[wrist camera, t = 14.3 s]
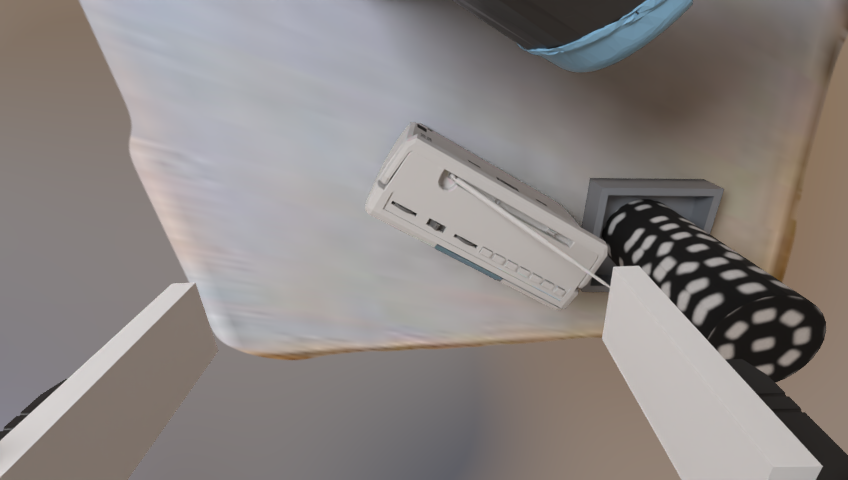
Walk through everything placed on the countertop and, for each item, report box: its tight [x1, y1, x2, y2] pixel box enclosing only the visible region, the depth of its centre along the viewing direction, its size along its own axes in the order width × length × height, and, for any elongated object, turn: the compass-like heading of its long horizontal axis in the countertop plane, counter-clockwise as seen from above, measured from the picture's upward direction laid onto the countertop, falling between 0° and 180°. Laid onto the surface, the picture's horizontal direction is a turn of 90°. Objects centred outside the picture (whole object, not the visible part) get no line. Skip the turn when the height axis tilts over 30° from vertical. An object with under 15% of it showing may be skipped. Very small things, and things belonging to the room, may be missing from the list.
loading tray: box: [580, 178, 724, 292], centre depth 47 cm, size 13×13×4 cm
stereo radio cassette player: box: [365, 122, 610, 311], centre depth 38 cm, size 21×8×20 cm, turn 61°
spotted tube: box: [602, 199, 826, 382], centre depth 39 cm, size 8×8×20 cm
